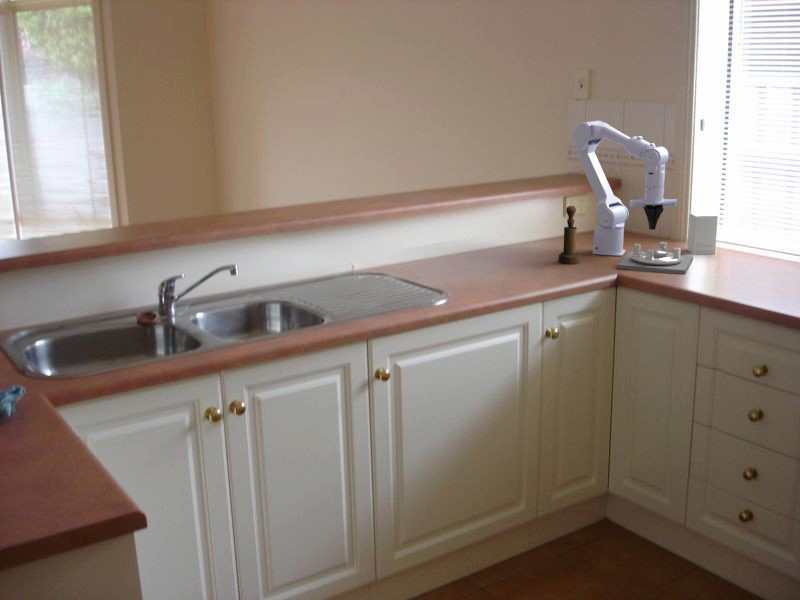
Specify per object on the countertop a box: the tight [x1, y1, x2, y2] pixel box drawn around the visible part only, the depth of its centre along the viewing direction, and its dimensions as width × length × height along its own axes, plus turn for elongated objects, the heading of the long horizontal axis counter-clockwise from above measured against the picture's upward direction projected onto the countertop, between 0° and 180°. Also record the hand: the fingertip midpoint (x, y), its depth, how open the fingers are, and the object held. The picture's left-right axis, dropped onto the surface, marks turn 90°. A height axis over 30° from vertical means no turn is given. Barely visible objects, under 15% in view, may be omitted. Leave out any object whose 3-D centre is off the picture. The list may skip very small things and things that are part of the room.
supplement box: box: [686, 211, 719, 255], centre depth 310 cm, size 7×7×13 cm
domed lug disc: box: [632, 241, 682, 265], centre depth 294 cm, size 15×15×4 cm
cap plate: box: [617, 251, 694, 275], centre depth 295 cm, size 20×20×1 cm
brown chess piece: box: [558, 205, 581, 265], centre depth 297 cm, size 7×6×18 cm
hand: (652, 229), depth 298 cm, fingers closed
